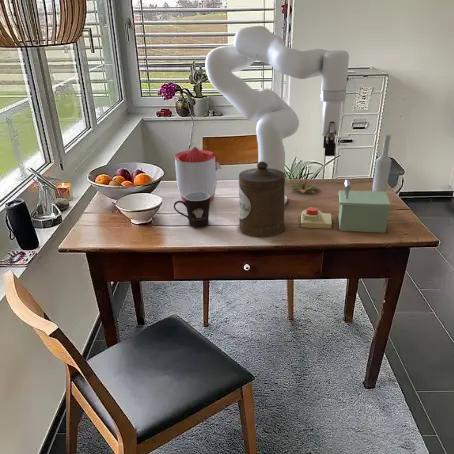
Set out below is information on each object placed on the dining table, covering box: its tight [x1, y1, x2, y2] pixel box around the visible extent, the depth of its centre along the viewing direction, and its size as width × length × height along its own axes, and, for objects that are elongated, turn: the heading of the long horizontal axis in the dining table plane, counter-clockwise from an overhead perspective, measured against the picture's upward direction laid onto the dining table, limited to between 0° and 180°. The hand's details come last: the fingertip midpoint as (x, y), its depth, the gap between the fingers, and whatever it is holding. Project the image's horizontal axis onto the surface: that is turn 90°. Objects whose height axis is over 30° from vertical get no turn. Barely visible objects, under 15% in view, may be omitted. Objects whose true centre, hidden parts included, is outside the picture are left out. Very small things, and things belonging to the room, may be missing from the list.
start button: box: [306, 206, 319, 215], centre depth 159 cm, size 4×4×2 cm
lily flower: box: [289, 178, 318, 194], centre depth 187 cm, size 12×12×5 cm
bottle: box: [371, 133, 392, 193], centre depth 166 cm, size 5×5×25 cm
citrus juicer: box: [173, 146, 223, 202], centre depth 176 cm, size 16×17×20 cm
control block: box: [300, 209, 333, 229], centre depth 160 cm, size 10×9×4 cm
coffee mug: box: [173, 192, 211, 229], centre depth 159 cm, size 12×9×10 cm
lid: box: [337, 179, 391, 208], centre depth 152 cm, size 16×12×5 cm
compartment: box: [337, 204, 391, 234], centre depth 156 cm, size 15×12×9 cm
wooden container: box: [238, 161, 286, 238], centre depth 152 cm, size 15×15×22 cm
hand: (328, 151), depth 155 cm, fingers open, 9 cm apart
